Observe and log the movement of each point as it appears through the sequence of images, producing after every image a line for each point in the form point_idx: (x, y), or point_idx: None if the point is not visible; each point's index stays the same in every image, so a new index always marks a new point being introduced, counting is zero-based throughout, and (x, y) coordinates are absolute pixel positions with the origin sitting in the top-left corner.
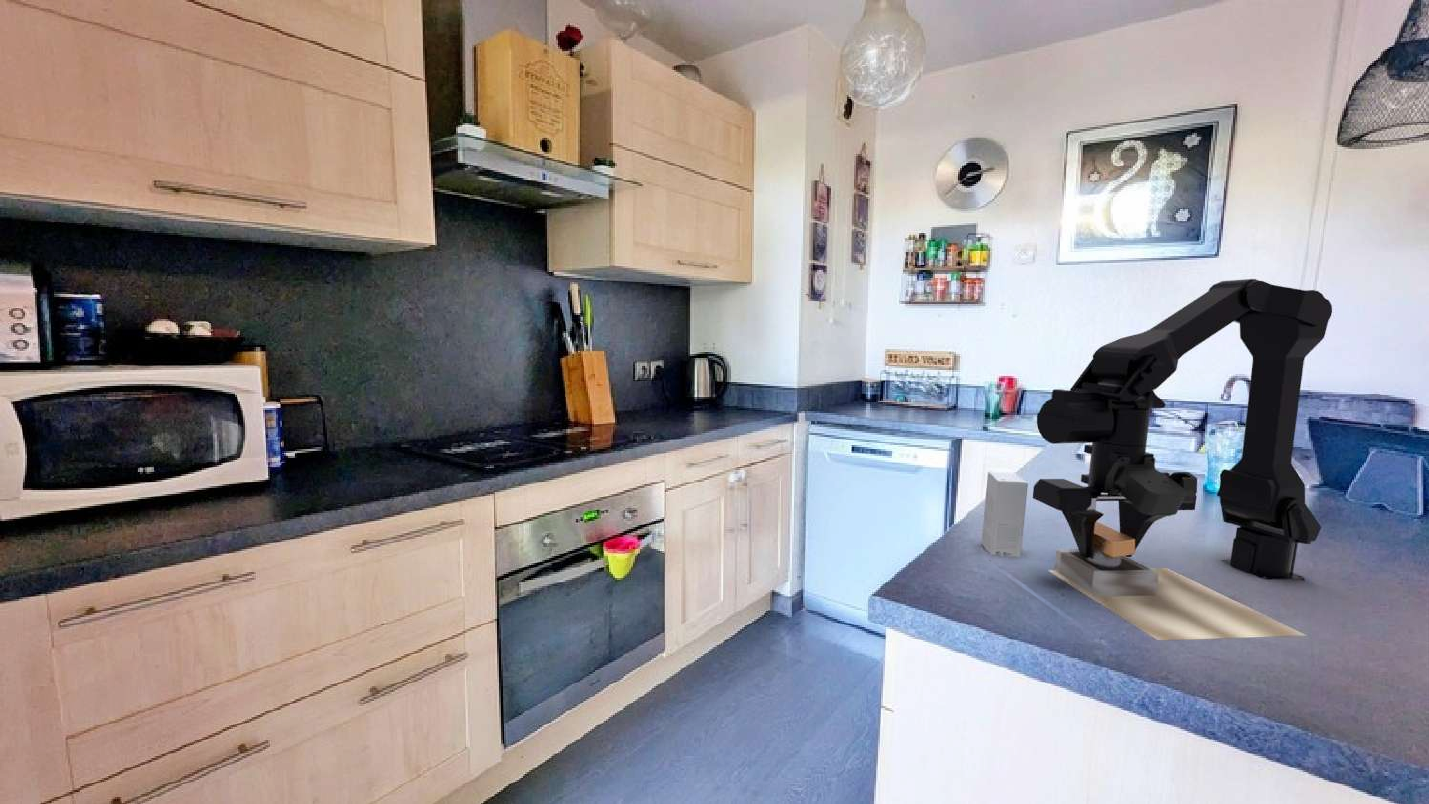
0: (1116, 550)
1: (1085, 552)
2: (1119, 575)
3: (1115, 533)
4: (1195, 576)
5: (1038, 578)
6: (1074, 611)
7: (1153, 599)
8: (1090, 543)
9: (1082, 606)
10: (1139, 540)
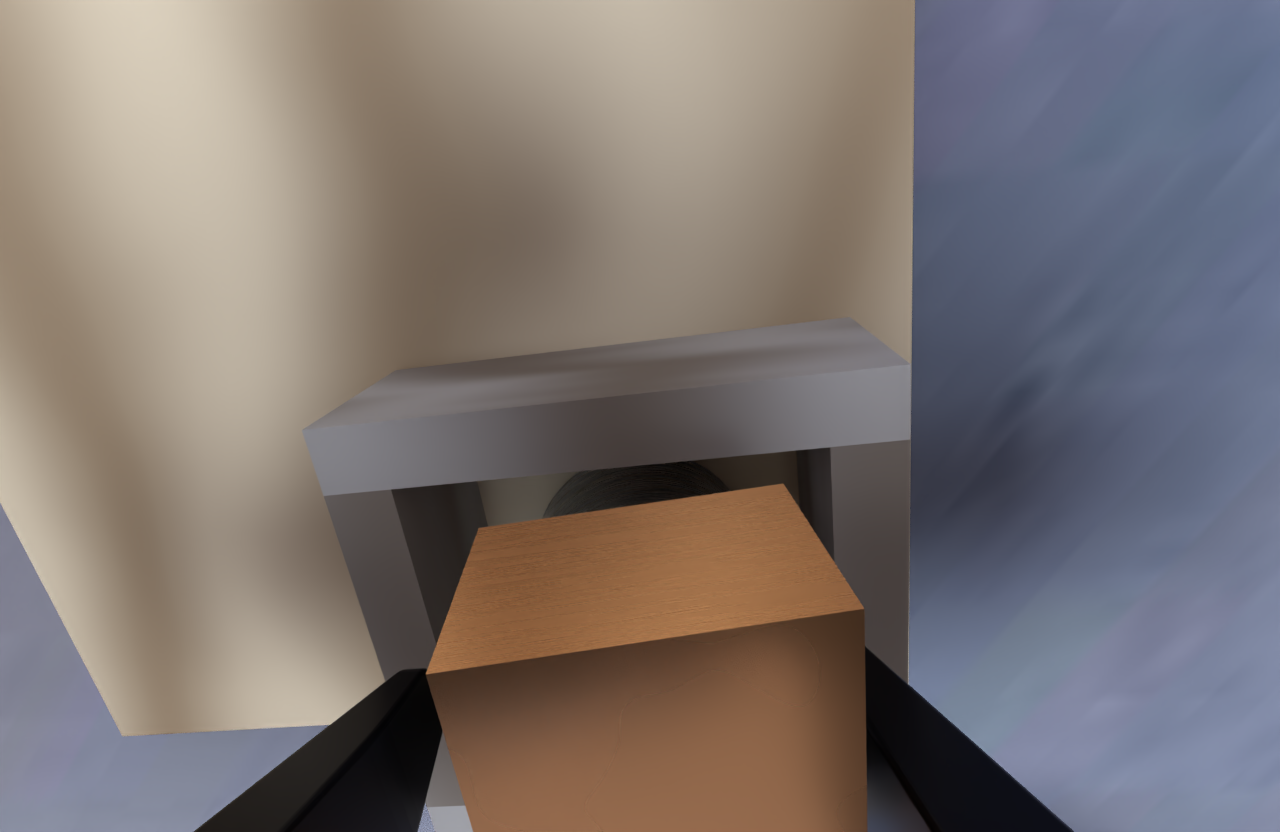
0: (749, 534)
1: (895, 677)
2: (692, 383)
3: None
4: (3, 669)
5: (1003, 617)
6: (1145, 130)
7: (449, 303)
8: (911, 752)
9: (1011, 223)
10: (248, 805)
